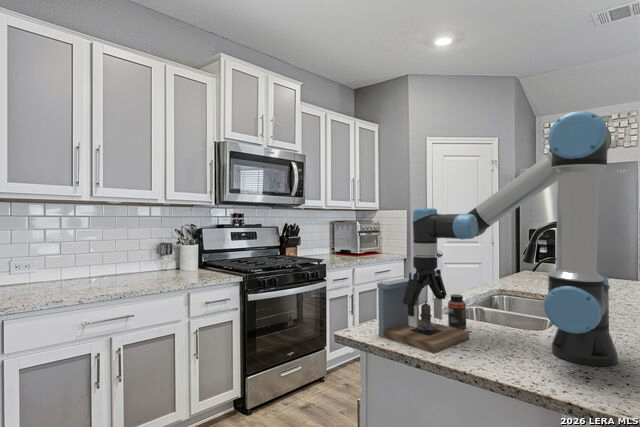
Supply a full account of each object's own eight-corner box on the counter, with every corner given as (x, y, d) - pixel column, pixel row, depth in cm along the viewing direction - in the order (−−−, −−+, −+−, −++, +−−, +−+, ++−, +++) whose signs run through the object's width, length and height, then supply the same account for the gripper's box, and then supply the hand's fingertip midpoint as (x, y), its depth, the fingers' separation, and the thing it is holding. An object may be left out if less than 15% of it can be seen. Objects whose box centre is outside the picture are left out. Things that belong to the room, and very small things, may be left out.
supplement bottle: (466, 326, 138) (466, 294, 138) (465, 330, 133) (465, 297, 133) (449, 324, 141) (449, 293, 141) (447, 328, 135) (446, 296, 135)
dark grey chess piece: (436, 342, 121) (436, 303, 121) (417, 340, 123) (416, 302, 123) (434, 336, 127) (434, 299, 127) (416, 335, 128) (416, 298, 128)
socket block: (469, 339, 124) (468, 331, 124) (434, 353, 112) (434, 344, 112) (419, 326, 138) (419, 319, 138) (383, 337, 126) (383, 329, 126)
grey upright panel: (425, 327, 137) (425, 277, 137) (388, 339, 124) (387, 284, 124) (415, 324, 140) (414, 276, 140) (377, 336, 127) (377, 283, 127)
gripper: (437, 252, 136) (437, 313, 136) (390, 258, 120) (391, 327, 120) (456, 254, 130) (457, 317, 130) (410, 260, 114) (411, 332, 114)
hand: (425, 322), depth 125 cm, fingers open, 13 cm apart
